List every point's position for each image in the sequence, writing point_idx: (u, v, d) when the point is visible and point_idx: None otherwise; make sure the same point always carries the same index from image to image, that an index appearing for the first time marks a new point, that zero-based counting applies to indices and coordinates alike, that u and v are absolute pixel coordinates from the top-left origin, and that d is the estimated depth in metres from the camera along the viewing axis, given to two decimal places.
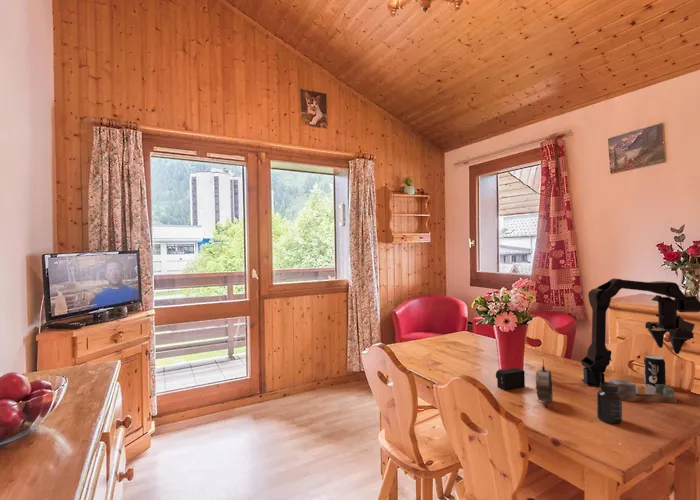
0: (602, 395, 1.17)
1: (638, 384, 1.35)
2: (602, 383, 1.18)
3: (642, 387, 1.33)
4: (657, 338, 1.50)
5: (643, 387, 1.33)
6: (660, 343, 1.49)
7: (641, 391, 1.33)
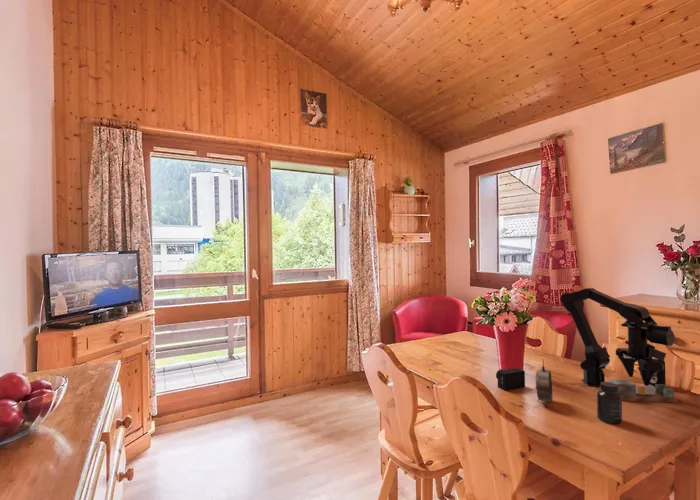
0: (602, 395, 1.17)
1: (638, 384, 1.35)
2: (602, 383, 1.18)
3: (642, 387, 1.33)
4: (627, 366, 1.40)
5: (643, 387, 1.33)
6: (630, 372, 1.39)
7: (641, 391, 1.33)
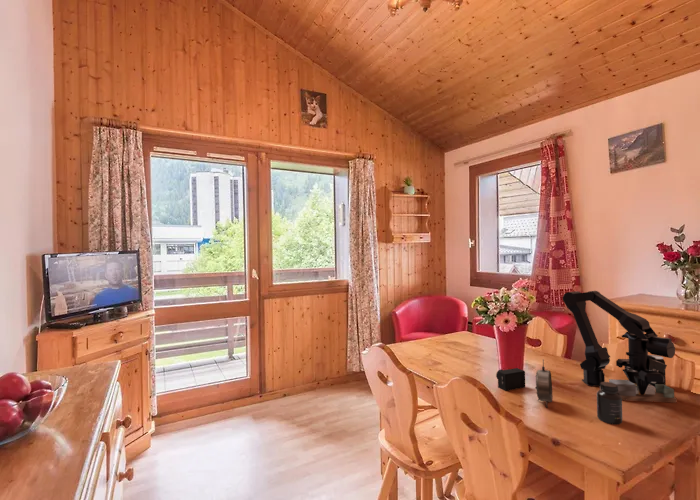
0: (602, 395, 1.17)
1: None
2: (602, 383, 1.18)
3: None
4: (632, 380, 1.37)
5: None
6: None
7: None
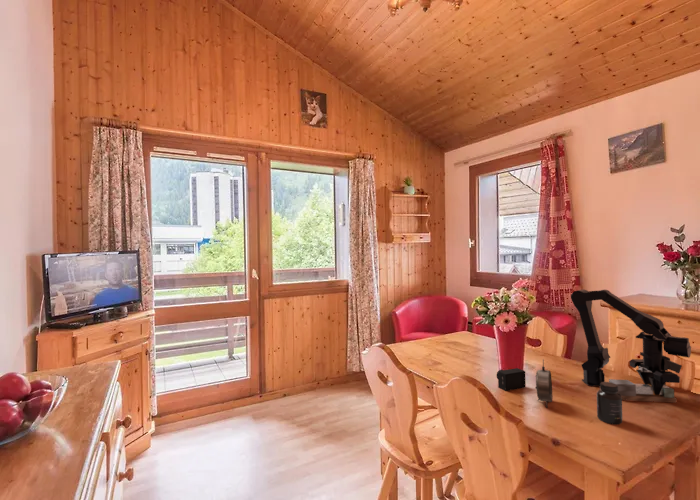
0: (602, 395, 1.17)
1: None
2: (602, 383, 1.18)
3: None
4: (647, 380, 1.36)
5: None
6: None
7: None
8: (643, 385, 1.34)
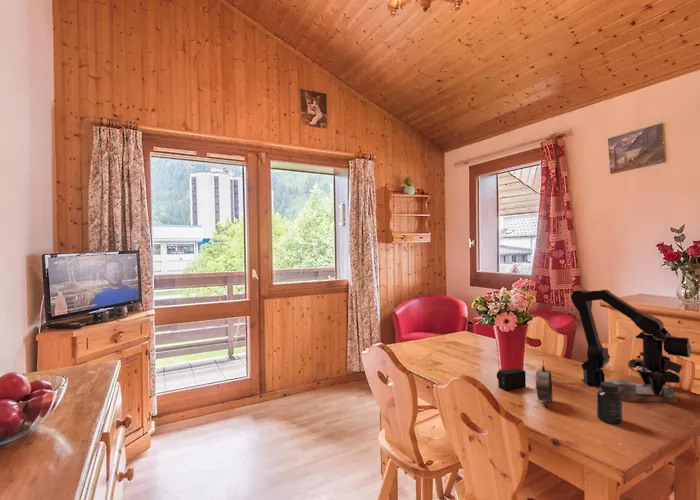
0: (602, 395, 1.17)
1: None
2: (602, 383, 1.18)
3: None
4: (647, 380, 1.36)
5: None
6: None
7: None
8: (643, 385, 1.34)
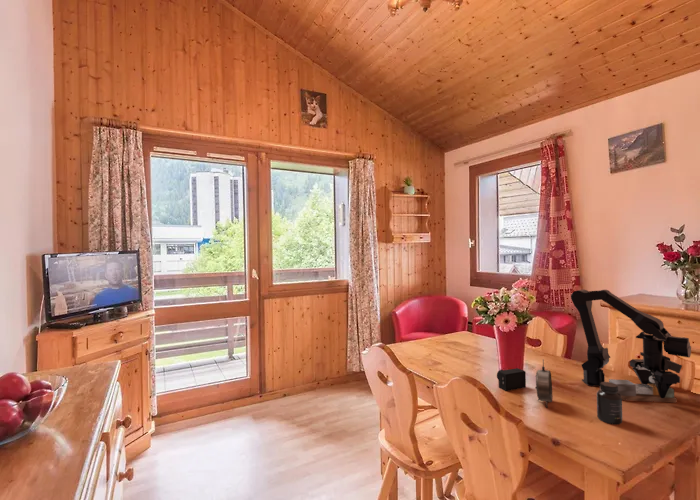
0: (602, 395, 1.17)
1: (652, 385, 1.34)
2: (602, 383, 1.18)
3: None
4: (642, 378, 1.39)
5: None
6: None
7: (656, 392, 1.32)
8: (643, 385, 1.34)
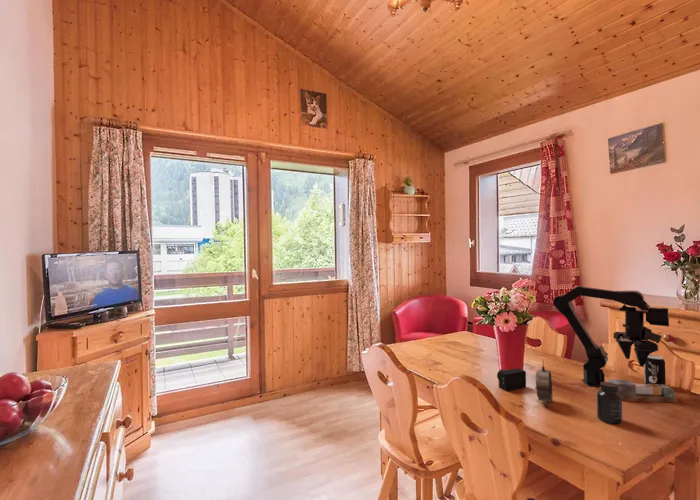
0: (602, 395, 1.17)
1: (652, 385, 1.34)
2: (602, 383, 1.18)
3: (657, 388, 1.32)
4: (624, 349, 1.45)
5: (658, 388, 1.32)
6: (627, 355, 1.45)
7: (656, 392, 1.32)
8: (643, 385, 1.34)
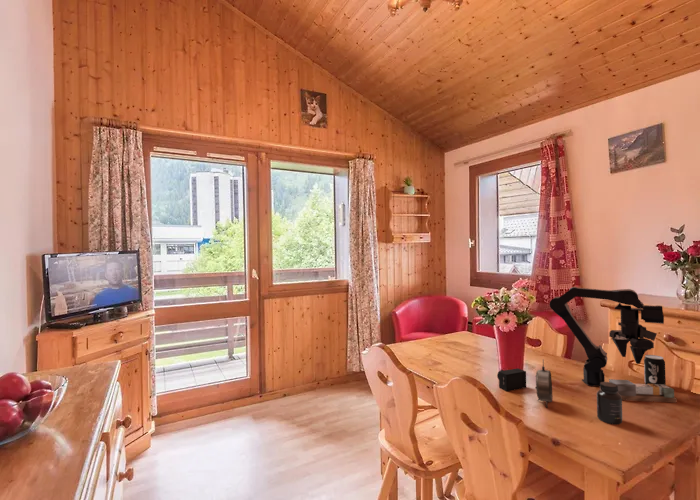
0: (602, 395, 1.17)
1: (652, 385, 1.34)
2: (602, 383, 1.18)
3: (657, 388, 1.32)
4: (620, 347, 1.47)
5: (658, 388, 1.32)
6: (623, 353, 1.46)
7: (656, 392, 1.32)
8: (643, 385, 1.34)
